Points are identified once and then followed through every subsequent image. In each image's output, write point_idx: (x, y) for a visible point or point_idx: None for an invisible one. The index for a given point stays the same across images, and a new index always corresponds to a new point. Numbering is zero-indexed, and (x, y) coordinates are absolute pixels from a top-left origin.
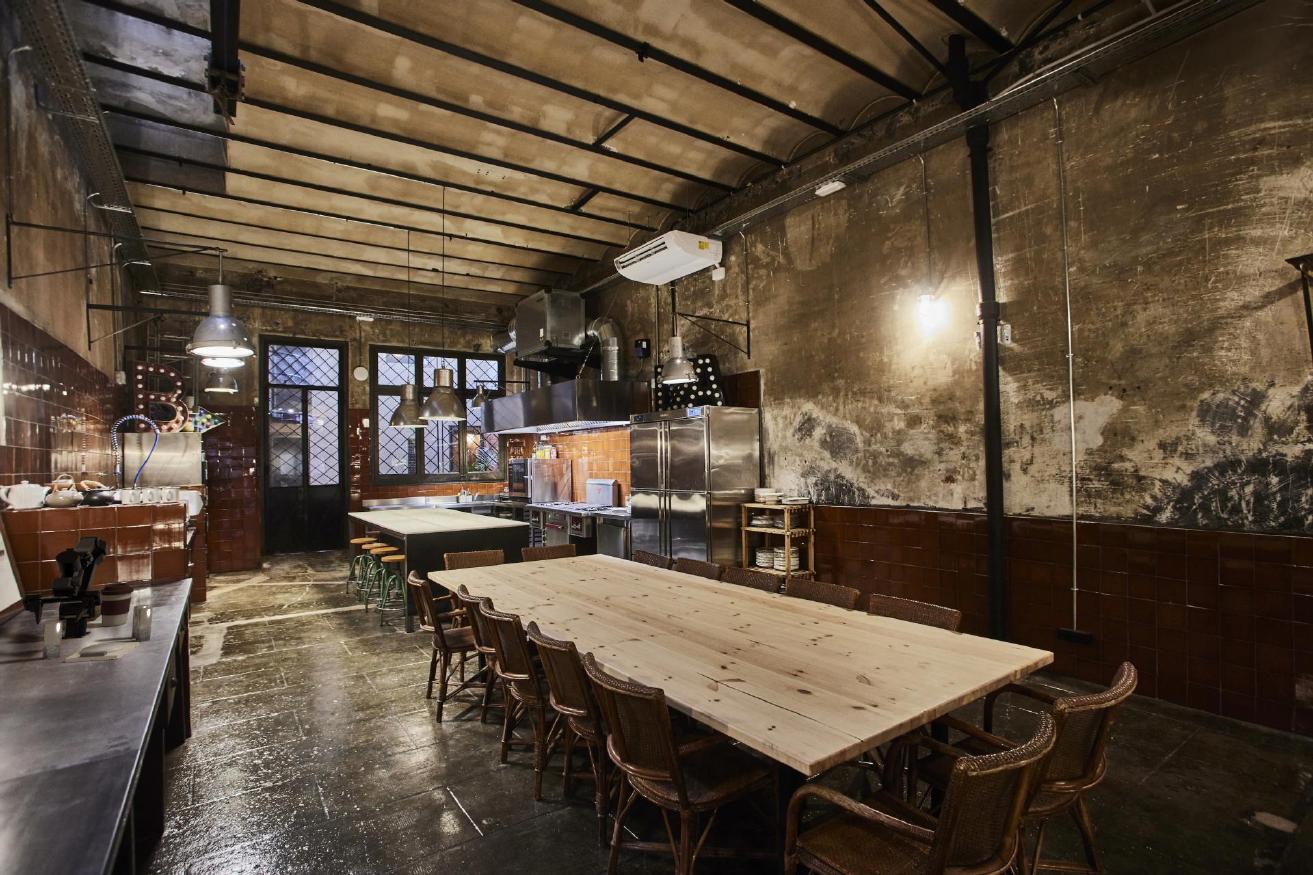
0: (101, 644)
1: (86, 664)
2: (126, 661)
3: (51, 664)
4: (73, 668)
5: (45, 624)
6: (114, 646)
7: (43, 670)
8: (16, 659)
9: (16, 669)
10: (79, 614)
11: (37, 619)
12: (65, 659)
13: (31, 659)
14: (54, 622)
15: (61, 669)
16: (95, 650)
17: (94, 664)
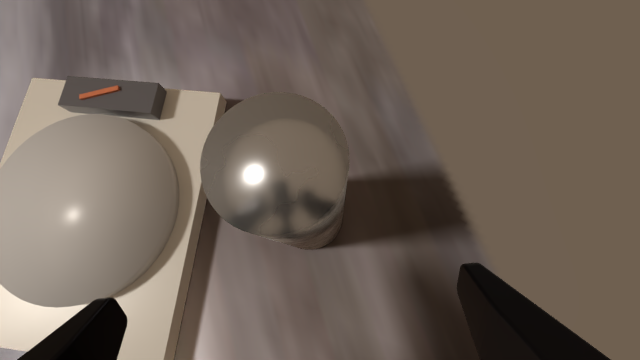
0: (95, 276)
1: (144, 47)
2: (17, 43)
3: (269, 89)
4: (176, 7)
5: (337, 126)
6: (33, 198)
7: (270, 12)
8: (457, 238)
9: (373, 56)
10: (24, 355)
11: (495, 287)
12: (220, 95)
13: (385, 211)
14: (270, 158)
15: (213, 6)
16: (108, 142)
17: (117, 38)
